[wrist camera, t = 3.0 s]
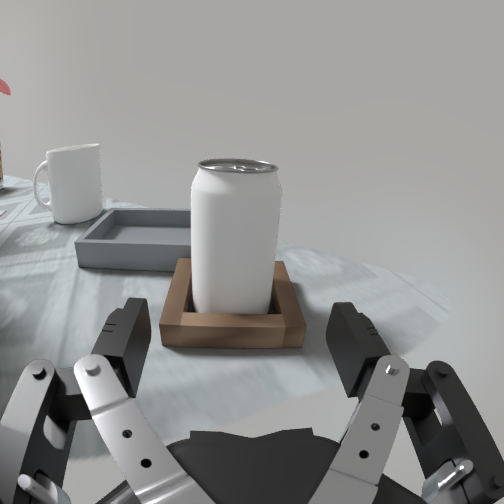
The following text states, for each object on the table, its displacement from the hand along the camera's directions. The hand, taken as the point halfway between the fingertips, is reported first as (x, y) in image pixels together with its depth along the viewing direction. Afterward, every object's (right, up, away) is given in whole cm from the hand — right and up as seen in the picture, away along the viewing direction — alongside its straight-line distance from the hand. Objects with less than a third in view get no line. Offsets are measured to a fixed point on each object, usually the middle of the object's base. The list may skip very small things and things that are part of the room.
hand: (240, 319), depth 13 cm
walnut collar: (-1, -2, +13) cm, 13 cm away
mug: (-30, +8, +31) cm, 44 cm away
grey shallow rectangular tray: (-12, +3, +23) cm, 26 cm away
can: (-1, -2, +13) cm, 13 cm away
